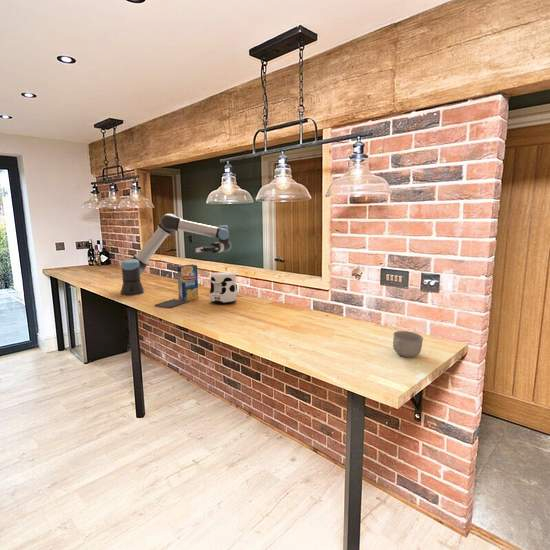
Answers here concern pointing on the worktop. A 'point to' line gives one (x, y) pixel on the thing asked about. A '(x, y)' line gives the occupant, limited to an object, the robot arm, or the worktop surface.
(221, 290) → the milk container
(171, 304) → the bar mat
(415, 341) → the teacup
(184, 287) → the beverage box
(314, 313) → the worktop surface
